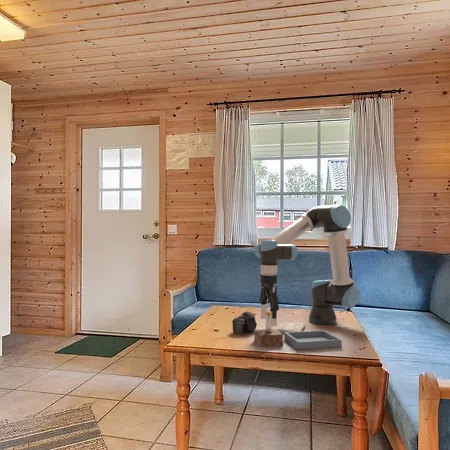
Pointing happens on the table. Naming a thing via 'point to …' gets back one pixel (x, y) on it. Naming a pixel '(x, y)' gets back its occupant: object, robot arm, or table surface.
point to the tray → (312, 340)
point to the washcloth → (290, 327)
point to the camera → (244, 323)
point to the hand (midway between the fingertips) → (268, 322)
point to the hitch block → (268, 338)
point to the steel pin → (268, 322)
